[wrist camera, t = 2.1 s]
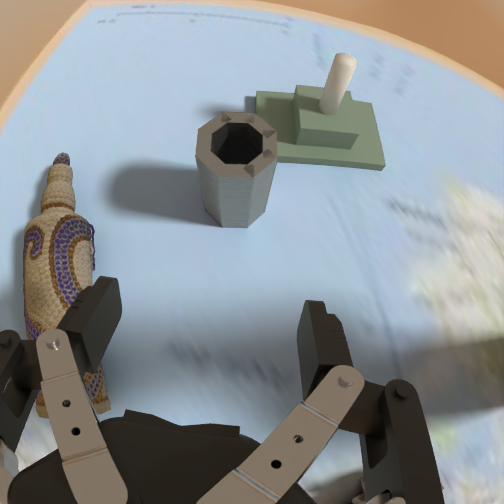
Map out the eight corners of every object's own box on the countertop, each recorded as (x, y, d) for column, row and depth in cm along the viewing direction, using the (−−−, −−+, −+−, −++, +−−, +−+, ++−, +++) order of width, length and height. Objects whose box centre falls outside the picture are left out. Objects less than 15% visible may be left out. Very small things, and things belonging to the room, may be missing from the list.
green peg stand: (368, 109, 36) (402, 46, 25) (381, 170, 33) (428, 111, 23) (255, 97, 35) (263, 23, 24) (255, 161, 33) (266, 86, 22)
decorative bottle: (125, 409, 26) (97, 425, 19) (59, 409, 25) (23, 421, 19) (106, 159, 32) (84, 124, 26) (49, 173, 31) (21, 144, 25)
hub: (264, 175, 32) (276, 113, 23) (264, 228, 31) (278, 179, 21) (208, 174, 32) (200, 111, 22) (204, 227, 31) (193, 177, 21)
